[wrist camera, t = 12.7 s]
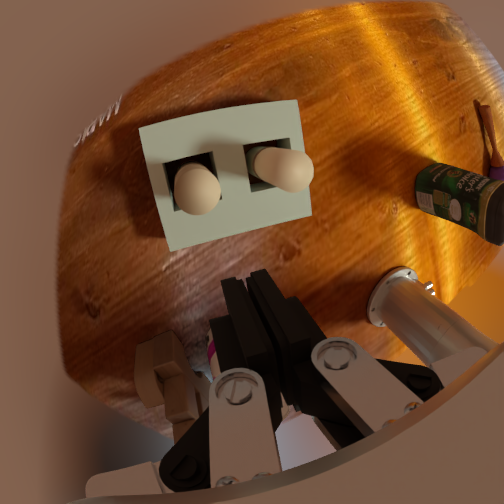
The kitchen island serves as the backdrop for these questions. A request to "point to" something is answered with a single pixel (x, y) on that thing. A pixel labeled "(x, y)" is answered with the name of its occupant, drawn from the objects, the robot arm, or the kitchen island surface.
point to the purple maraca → (499, 167)
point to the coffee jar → (463, 199)
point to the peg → (196, 188)
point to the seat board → (232, 169)
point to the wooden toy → (170, 382)
